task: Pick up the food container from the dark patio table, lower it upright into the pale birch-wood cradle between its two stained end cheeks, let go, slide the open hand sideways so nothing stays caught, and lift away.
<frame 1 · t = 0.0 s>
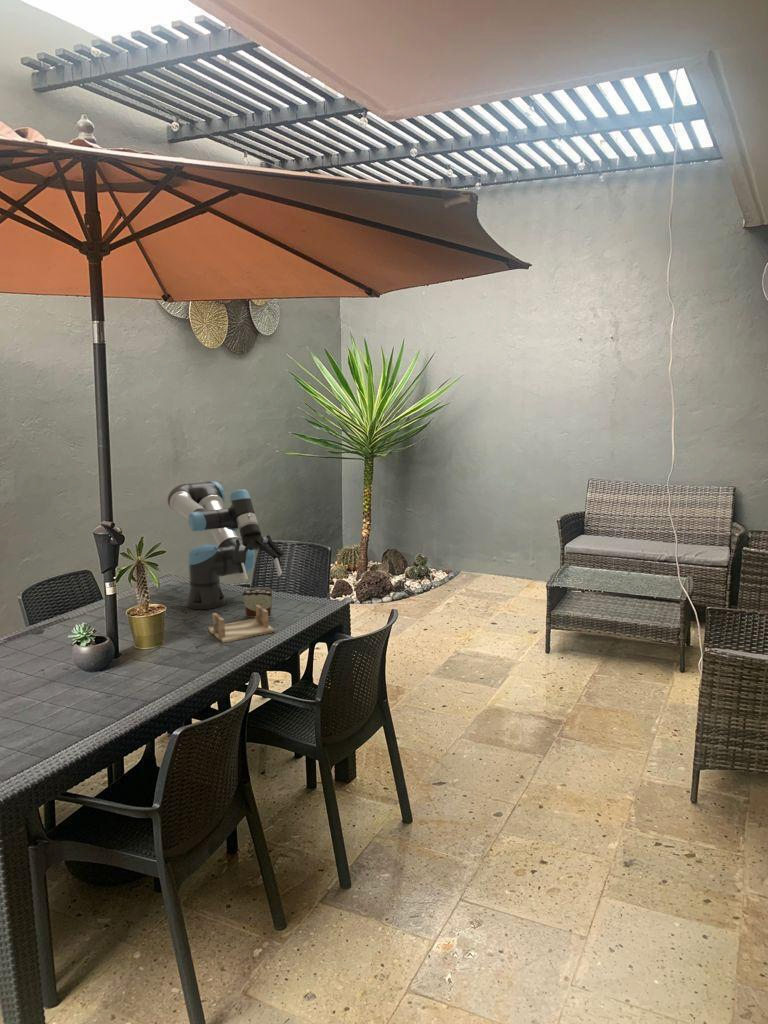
hand: (263, 577, 274), 15 cm above the table, tool tilted 35°, fingers open, 13 cm apart
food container: (260, 615, 280), on the table
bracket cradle: (241, 631, 261), on the table
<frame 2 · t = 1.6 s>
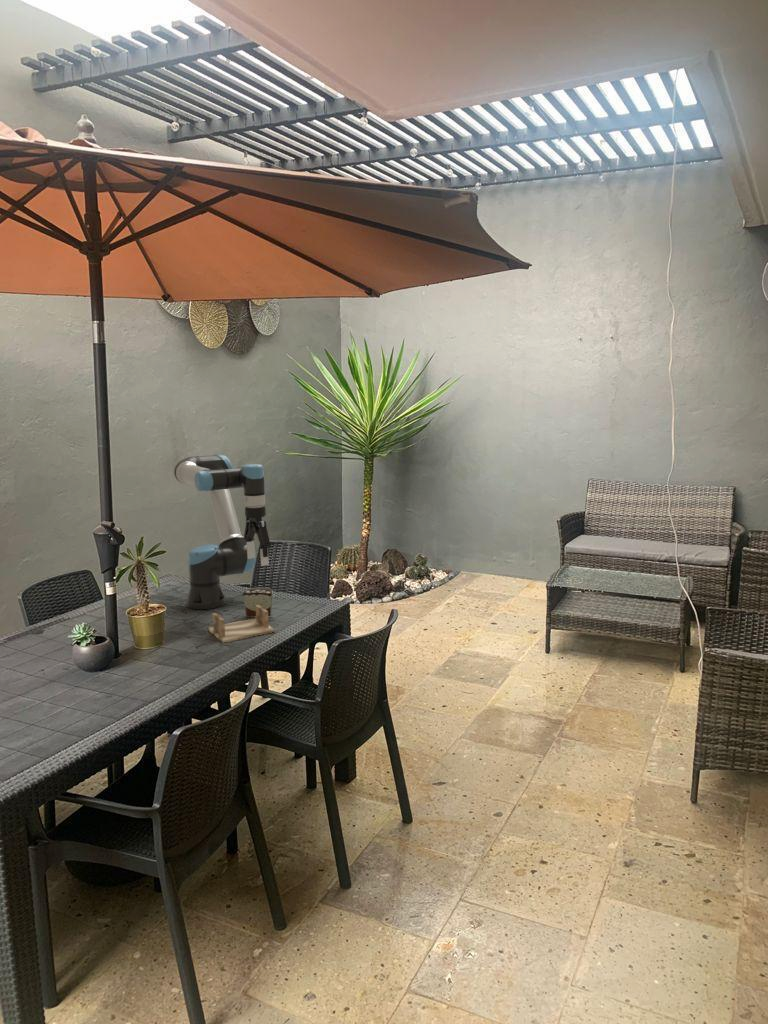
hand: (257, 561, 276), 21 cm above the table, tool pointing down, fingers open, 13 cm apart
nothing on the table moved.
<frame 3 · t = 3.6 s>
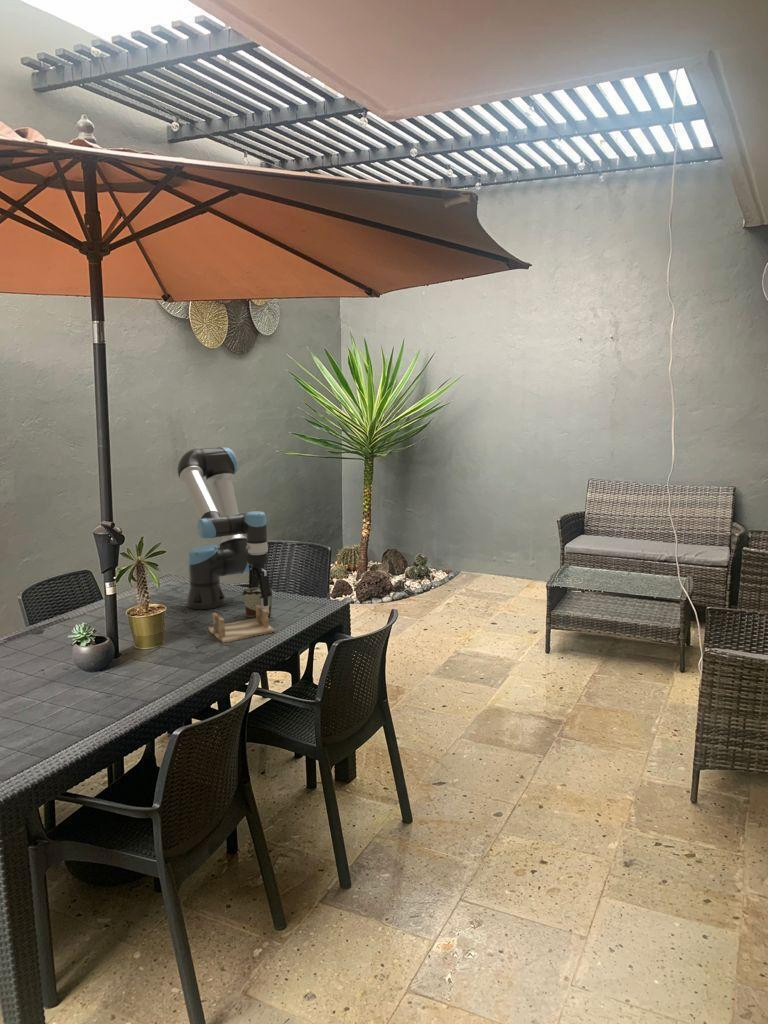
hand: (260, 610, 279), 2 cm above the table, tool pointing down, fingers closed on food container, 9 cm apart
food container: (260, 614, 280), on the table, touching gripper
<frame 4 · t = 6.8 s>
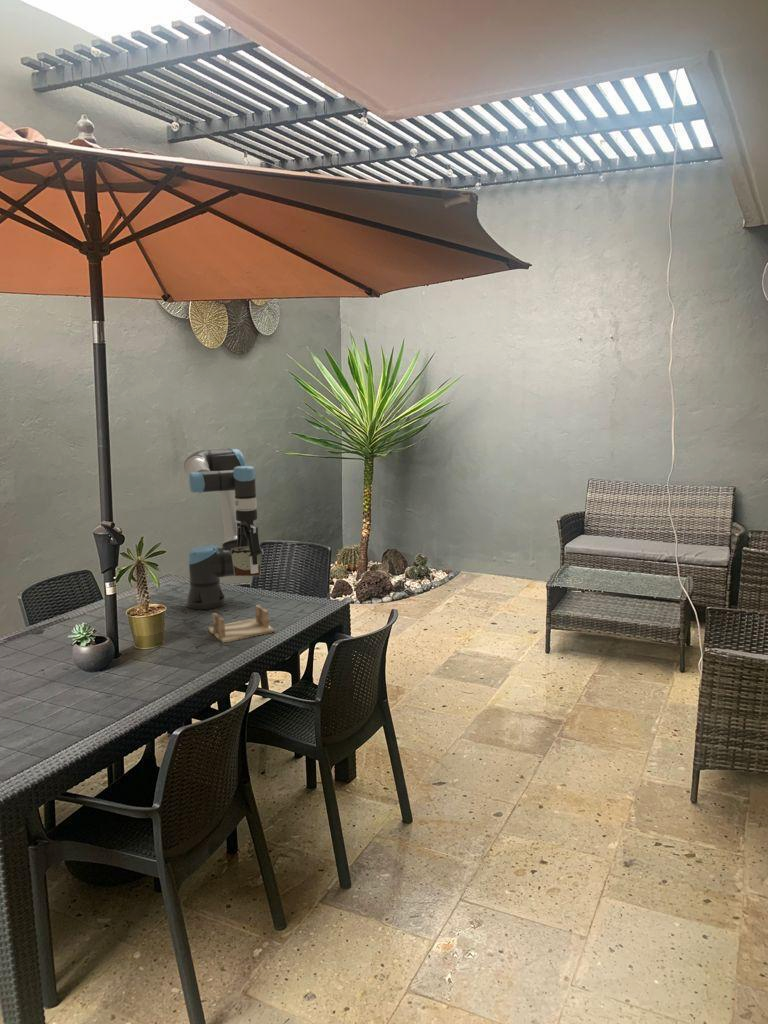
hand: (249, 570, 267), 20 cm above the table, tool pointing down, fingers closed on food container, 8 cm apart
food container: (249, 574, 267), point 18 cm above the table, touching gripper
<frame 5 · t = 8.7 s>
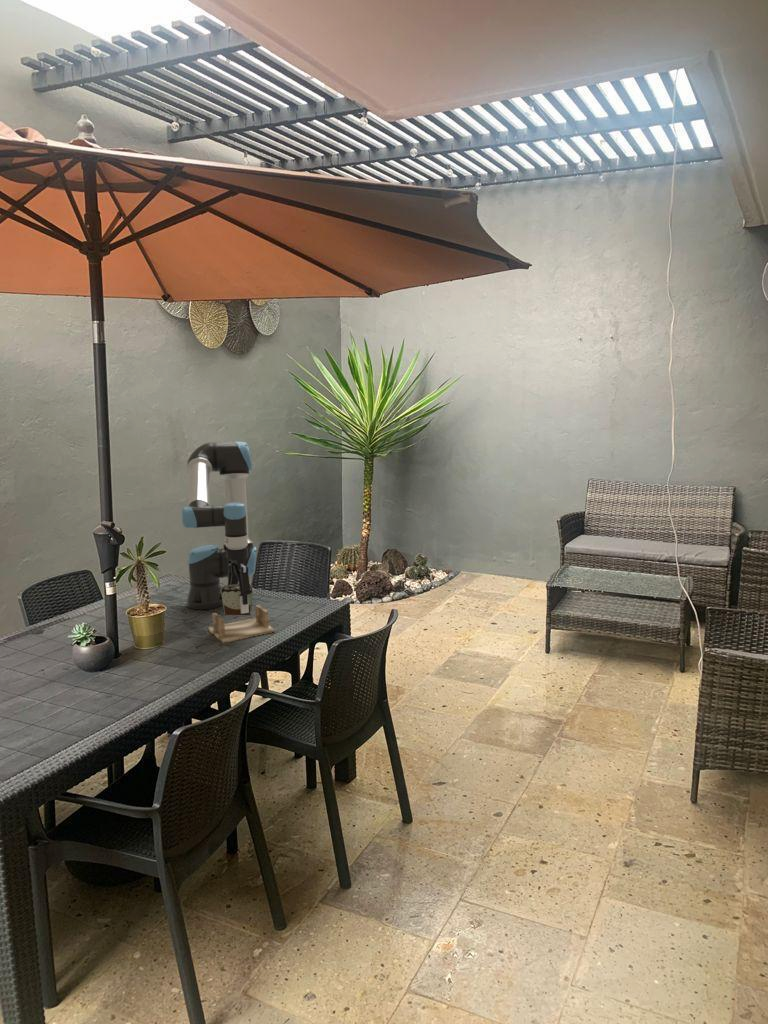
hand: (240, 609, 260), 8 cm above the table, tool pointing down, fingers closed on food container, 8 cm apart
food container: (240, 613, 260), point 6 cm above the table, touching gripper
when the fingers open (4 cm above the table, at t = 10.0 s): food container drops 1 cm, resting on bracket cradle.
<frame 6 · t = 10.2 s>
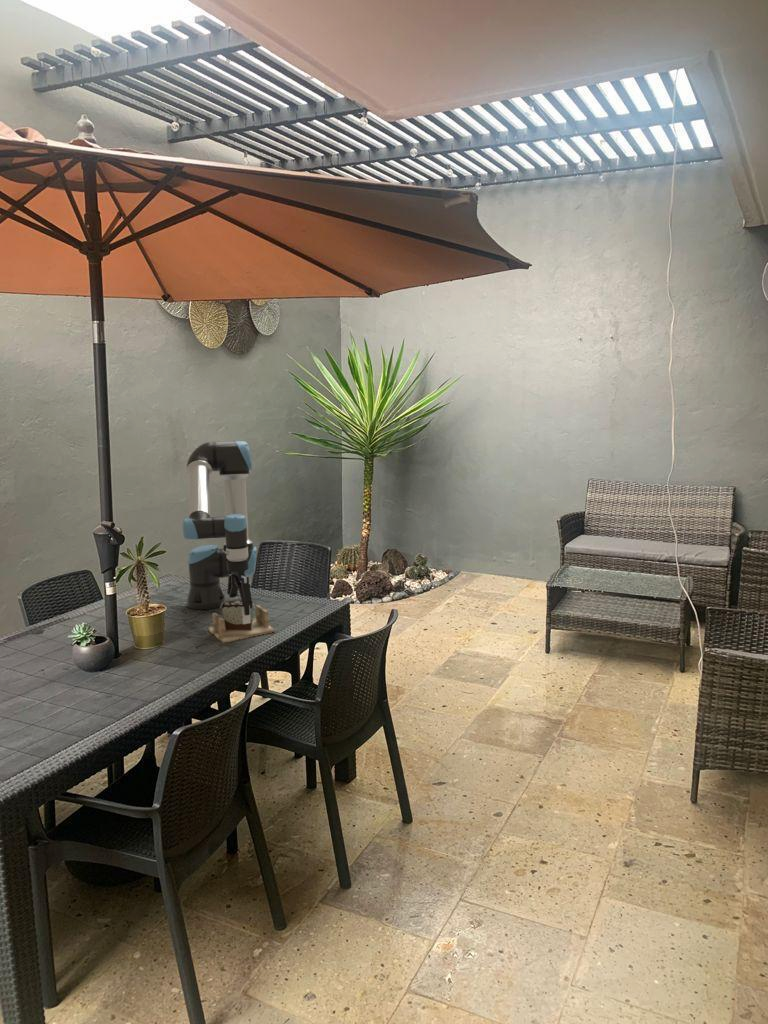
hand: (240, 619, 260), 4 cm above the table, tool pointing down, fingers open, 11 cm apart
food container: (240, 628, 262), point 1 cm above the table, touching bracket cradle
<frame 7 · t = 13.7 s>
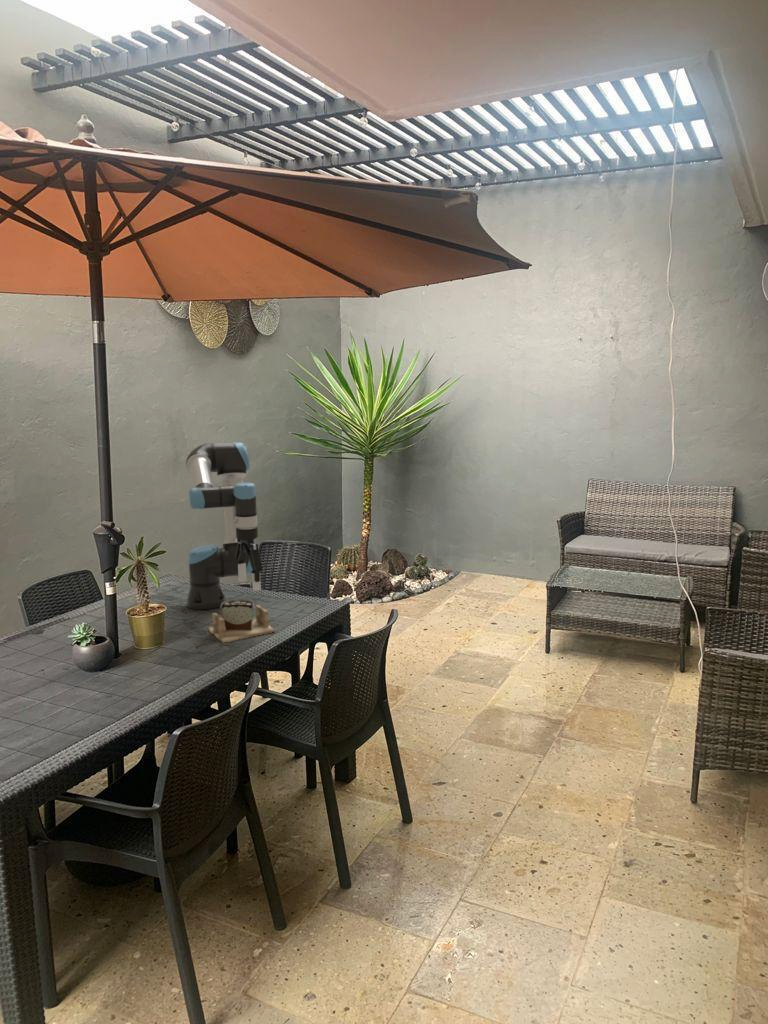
hand: (249, 585, 260), 16 cm above the table, tool pointing down, fingers open, 13 cm apart
nothing on the table moved.
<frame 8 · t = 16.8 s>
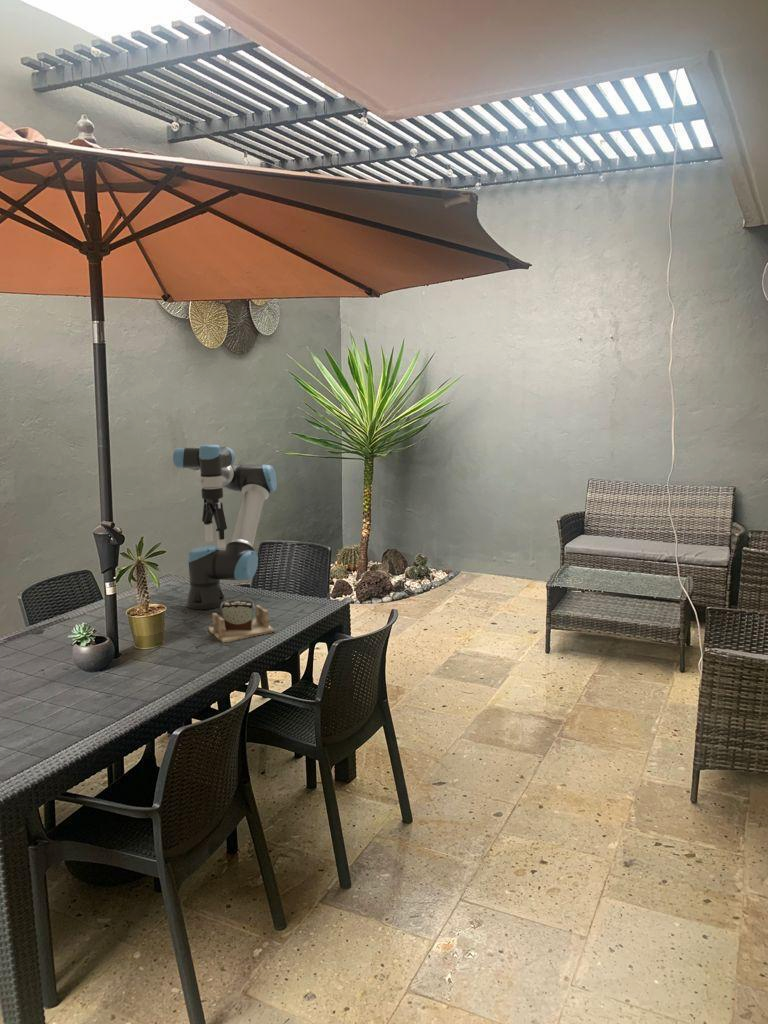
hand: (215, 544, 269), 29 cm above the table, tool pointing down, fingers open, 13 cm apart
nothing on the table moved.
at the end: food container 0.8 cm off-centre on the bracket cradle, point 0.8 cm above the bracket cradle's base; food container tilted 0°; the gripper is holding nothing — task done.
